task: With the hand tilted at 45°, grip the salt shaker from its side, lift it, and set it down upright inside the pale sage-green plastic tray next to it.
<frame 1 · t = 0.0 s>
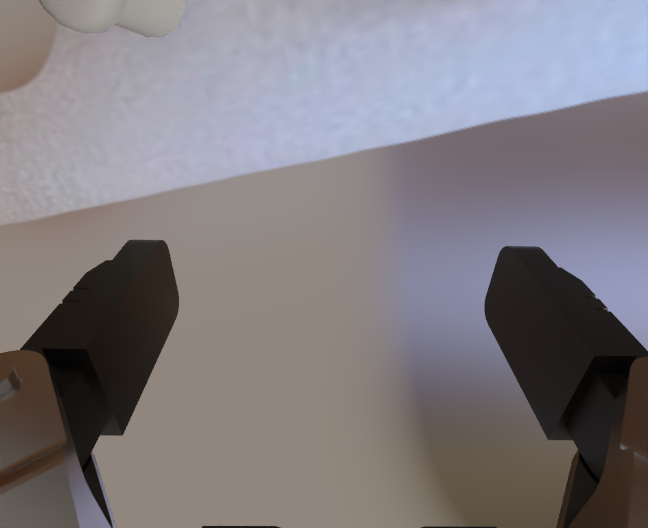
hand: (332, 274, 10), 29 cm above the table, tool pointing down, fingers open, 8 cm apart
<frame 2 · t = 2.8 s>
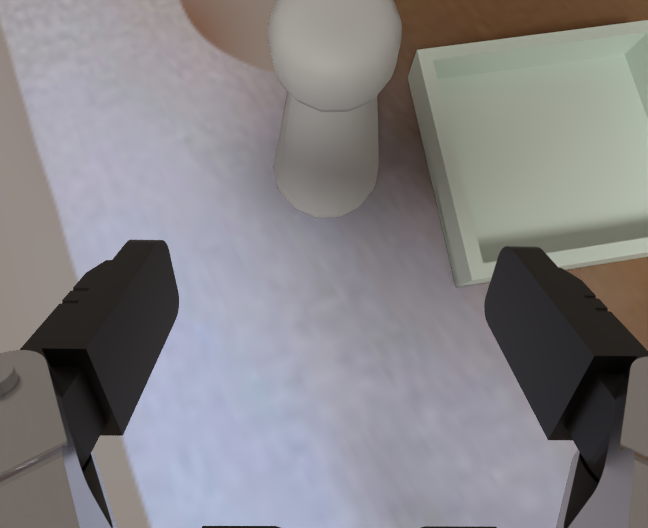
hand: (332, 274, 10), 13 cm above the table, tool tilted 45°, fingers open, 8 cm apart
tray: (546, 159, 25), on the table
salt shaker: (325, 185, 25), on the table
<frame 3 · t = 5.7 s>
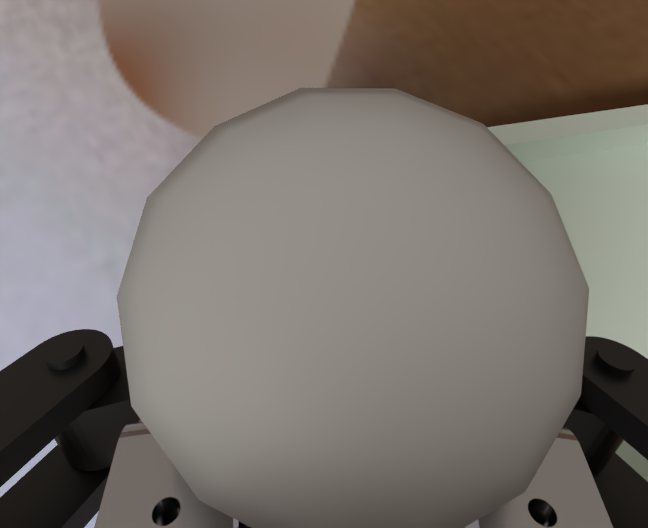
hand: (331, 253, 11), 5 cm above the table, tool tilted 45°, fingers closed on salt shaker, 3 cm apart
salt shaker: (323, 337, 16), on the table, touching gripper
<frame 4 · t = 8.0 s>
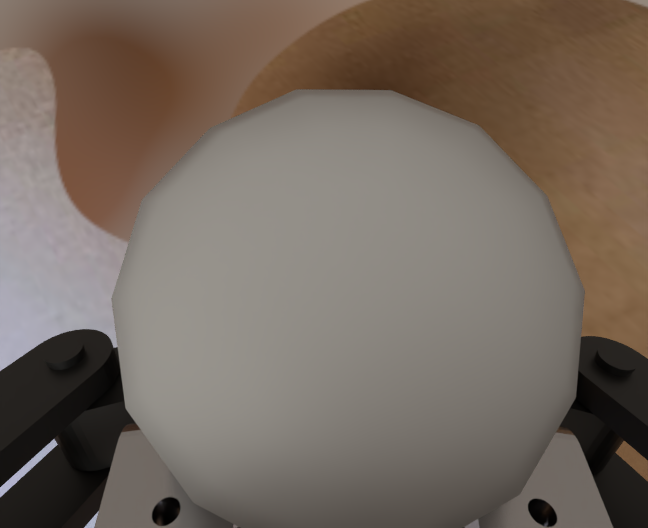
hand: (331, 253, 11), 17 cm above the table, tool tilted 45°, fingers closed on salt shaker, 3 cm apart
salt shaker: (322, 337, 16), point 12 cm above the table, touching gripper
when the fingers open (7 cm above the table, at t = 10.6 s): salt shaker drops 1 cm, resting on tray.
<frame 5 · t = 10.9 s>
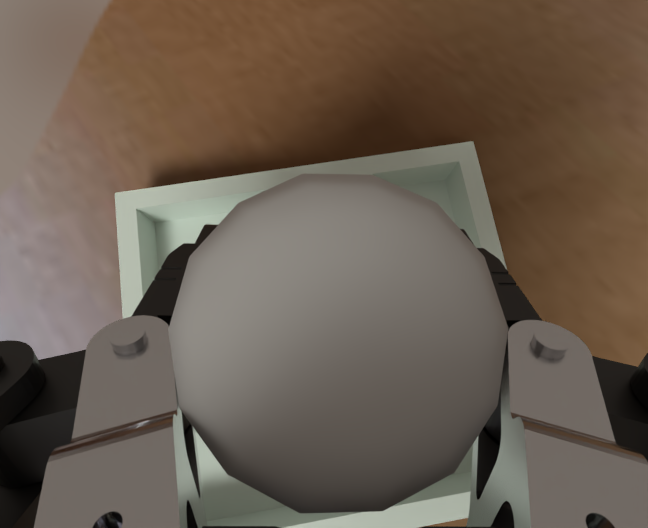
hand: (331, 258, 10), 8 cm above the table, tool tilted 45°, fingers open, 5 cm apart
tray: (324, 337, 18), on the table
salt shaker: (321, 342, 17), resting on tray
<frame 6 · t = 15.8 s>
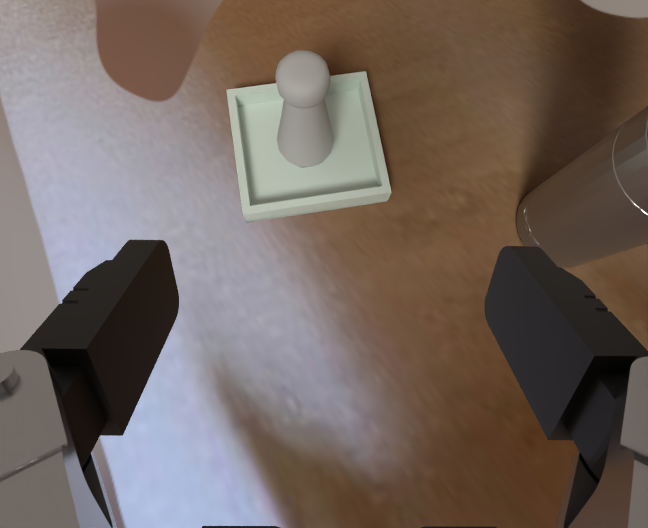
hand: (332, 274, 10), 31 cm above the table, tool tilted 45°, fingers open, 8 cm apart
tray: (307, 151, 44), on the table
salt shaker: (306, 151, 43), resting on tray
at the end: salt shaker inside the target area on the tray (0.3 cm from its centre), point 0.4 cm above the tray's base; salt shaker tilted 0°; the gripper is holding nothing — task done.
